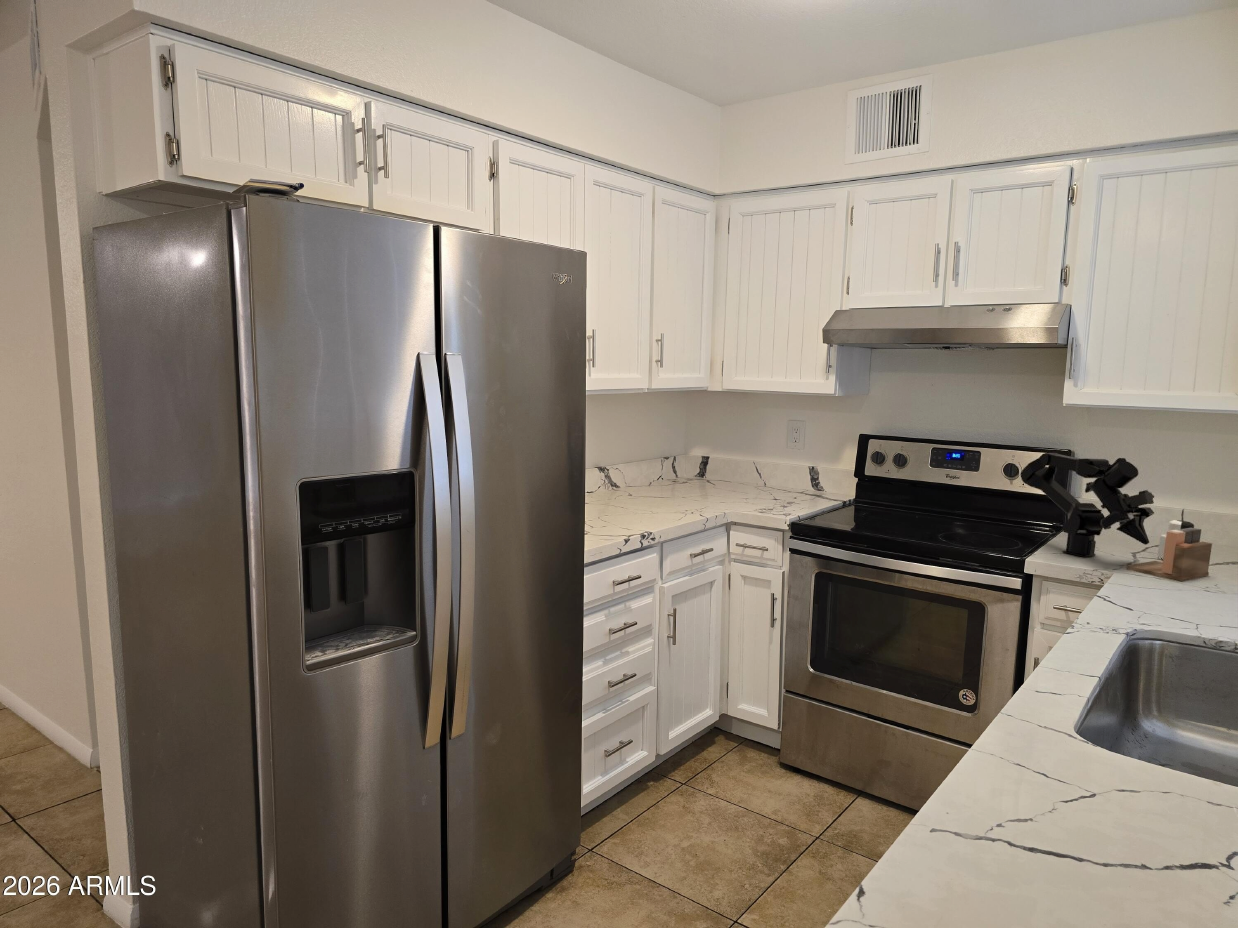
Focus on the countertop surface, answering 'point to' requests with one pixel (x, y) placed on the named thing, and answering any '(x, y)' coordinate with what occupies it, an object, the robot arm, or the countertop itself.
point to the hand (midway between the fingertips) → (1147, 543)
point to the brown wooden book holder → (1182, 559)
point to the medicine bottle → (1172, 526)
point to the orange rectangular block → (1171, 549)
